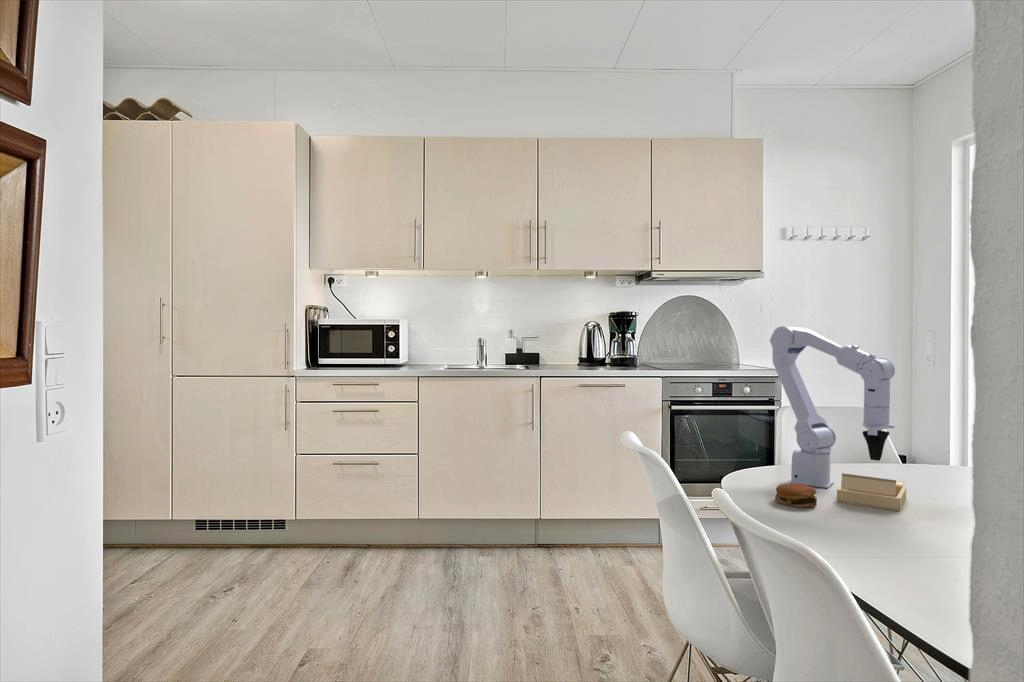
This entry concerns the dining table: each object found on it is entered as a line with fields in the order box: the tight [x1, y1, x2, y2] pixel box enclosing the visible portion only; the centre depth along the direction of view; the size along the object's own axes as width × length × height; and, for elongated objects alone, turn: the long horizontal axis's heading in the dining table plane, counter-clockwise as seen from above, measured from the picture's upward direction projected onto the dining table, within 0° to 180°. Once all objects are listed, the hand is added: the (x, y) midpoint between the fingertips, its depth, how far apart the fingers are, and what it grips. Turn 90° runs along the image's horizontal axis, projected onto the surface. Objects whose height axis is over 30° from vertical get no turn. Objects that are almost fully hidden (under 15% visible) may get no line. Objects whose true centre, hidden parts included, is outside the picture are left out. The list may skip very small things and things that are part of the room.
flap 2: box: [896, 480, 905, 486], centre depth 171 cm, size 12×1×4 cm
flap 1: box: [840, 472, 897, 496], centre depth 159 cm, size 12×1×4 cm, turn 53°
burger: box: [774, 482, 818, 508], centre depth 161 cm, size 10×9×5 cm
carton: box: [836, 485, 907, 512], centre depth 164 cm, size 14×14×3 cm
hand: (875, 459), depth 167 cm, fingers closed
